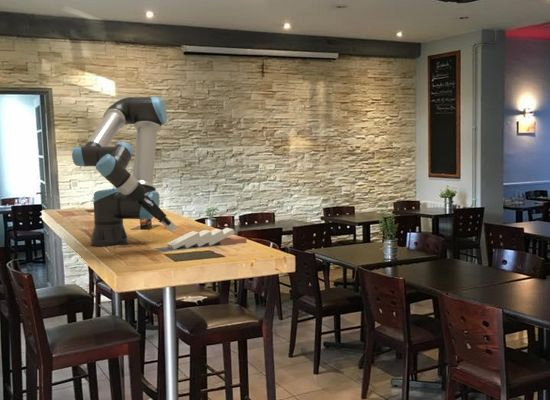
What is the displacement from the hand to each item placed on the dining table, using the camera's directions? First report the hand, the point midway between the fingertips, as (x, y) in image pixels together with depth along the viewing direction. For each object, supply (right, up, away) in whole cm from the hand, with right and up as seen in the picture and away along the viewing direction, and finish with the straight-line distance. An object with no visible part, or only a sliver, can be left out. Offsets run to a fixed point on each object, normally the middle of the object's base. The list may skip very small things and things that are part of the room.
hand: (174, 229), depth 241 cm
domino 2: (+3, -6, +2) cm, 8 cm away
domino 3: (+7, -6, +5) cm, 11 cm away
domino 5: (+16, -6, +10) cm, 20 cm away
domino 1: (-1, -7, 0) cm, 7 cm away
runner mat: (+8, -8, +5) cm, 12 cm away
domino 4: (+12, -6, +8) cm, 15 cm away
